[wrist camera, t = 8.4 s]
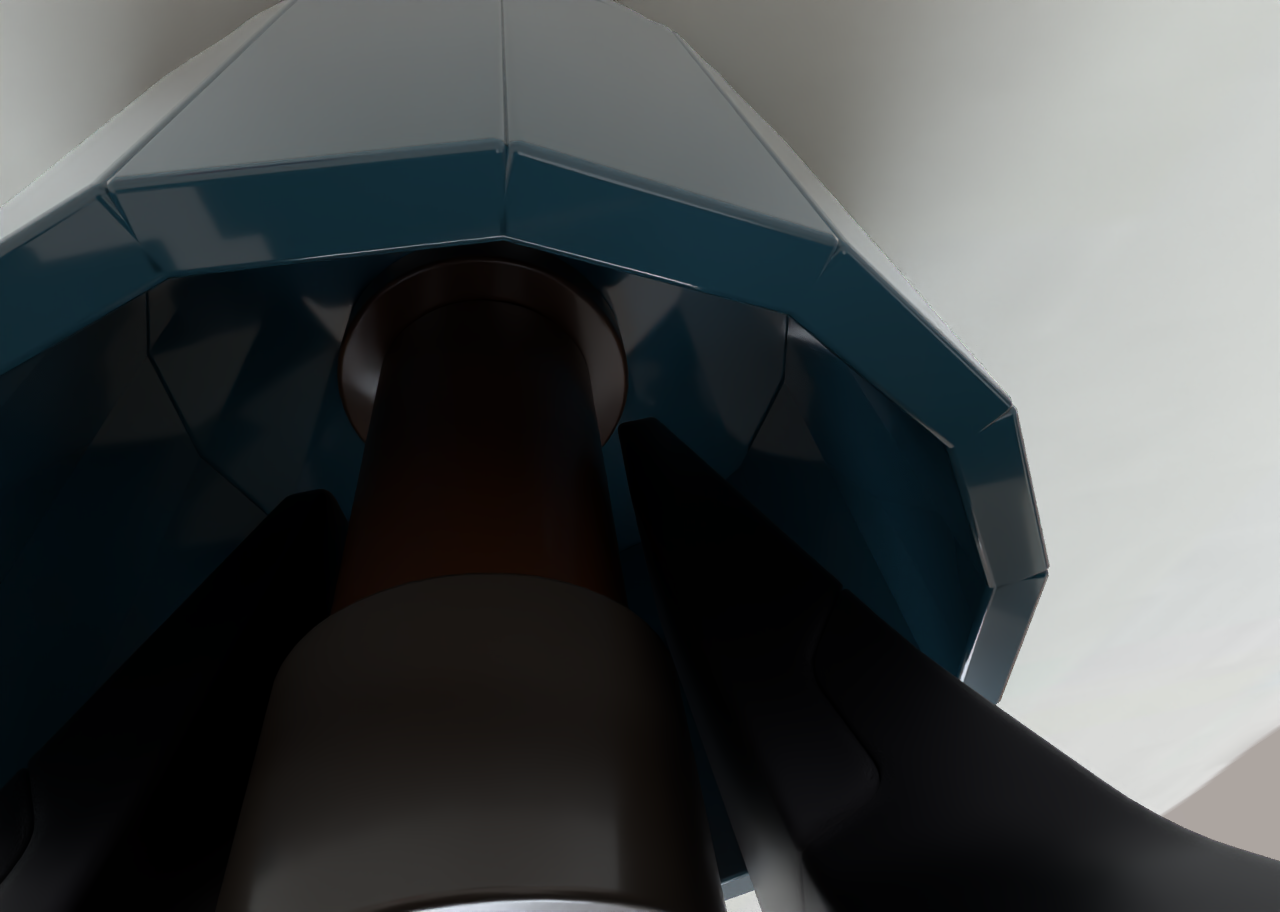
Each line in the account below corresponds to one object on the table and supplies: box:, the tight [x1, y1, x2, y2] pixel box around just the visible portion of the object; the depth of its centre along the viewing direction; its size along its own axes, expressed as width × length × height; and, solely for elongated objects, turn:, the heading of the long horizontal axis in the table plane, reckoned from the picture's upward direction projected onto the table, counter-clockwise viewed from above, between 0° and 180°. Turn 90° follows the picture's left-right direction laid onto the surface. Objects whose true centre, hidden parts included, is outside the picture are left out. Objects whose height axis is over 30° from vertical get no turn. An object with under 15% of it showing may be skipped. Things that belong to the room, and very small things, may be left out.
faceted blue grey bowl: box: [0, 0, 1049, 900], centre depth 9 cm, size 9×9×6 cm
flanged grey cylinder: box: [215, 241, 727, 912], centre depth 8 cm, size 4×4×7 cm
